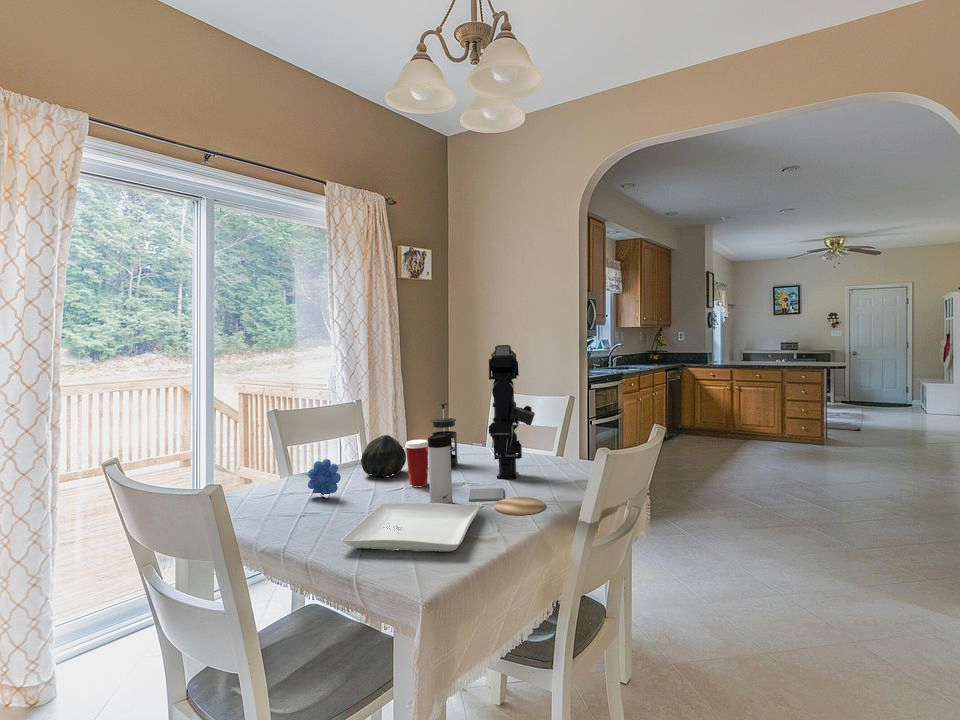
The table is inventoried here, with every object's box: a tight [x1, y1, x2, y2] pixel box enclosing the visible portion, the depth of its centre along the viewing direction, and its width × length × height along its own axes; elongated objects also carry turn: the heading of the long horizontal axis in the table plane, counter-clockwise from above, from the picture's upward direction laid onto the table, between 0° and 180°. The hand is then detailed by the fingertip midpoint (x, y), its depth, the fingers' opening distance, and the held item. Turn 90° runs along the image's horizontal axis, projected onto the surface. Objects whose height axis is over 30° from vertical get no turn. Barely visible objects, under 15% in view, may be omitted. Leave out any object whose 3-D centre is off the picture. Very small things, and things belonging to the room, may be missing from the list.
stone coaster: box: [468, 487, 505, 502], centre depth 156 cm, size 10×10×1 cm
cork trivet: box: [493, 496, 546, 516], centre depth 145 cm, size 14×14×1 cm
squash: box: [360, 434, 407, 477], centre depth 184 cm, size 14×15×15 cm
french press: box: [431, 402, 459, 469], centre depth 193 cm, size 12×9×23 cm
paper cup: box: [404, 439, 429, 487], centre depth 170 cm, size 8×8×14 cm
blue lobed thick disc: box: [307, 458, 341, 495], centre depth 160 cm, size 12×7×12 cm, turn 69°
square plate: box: [340, 502, 482, 552], centre depth 128 cm, size 27×27×4 cm
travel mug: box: [427, 433, 453, 504], centre depth 150 cm, size 6×7×20 cm
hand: (505, 453), depth 151 cm, fingers open, 9 cm apart
